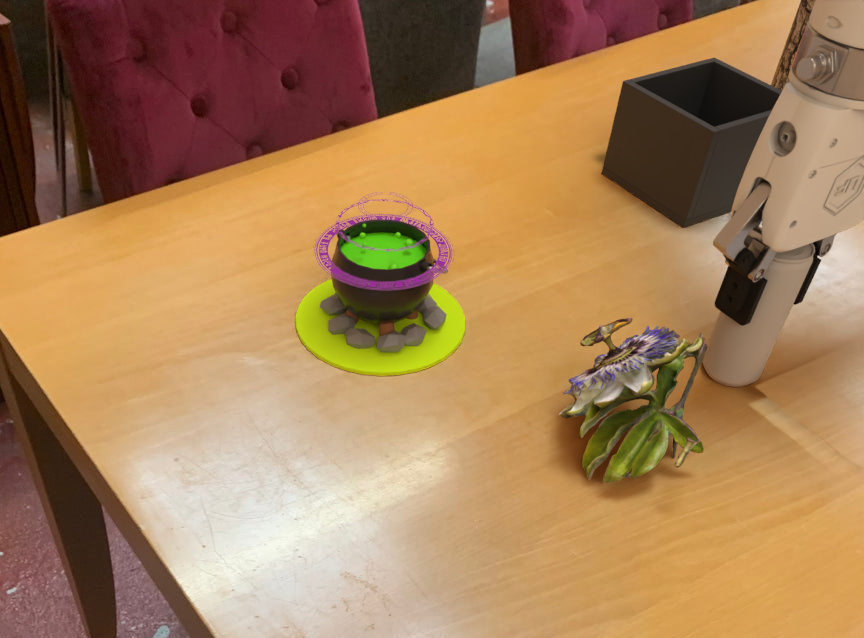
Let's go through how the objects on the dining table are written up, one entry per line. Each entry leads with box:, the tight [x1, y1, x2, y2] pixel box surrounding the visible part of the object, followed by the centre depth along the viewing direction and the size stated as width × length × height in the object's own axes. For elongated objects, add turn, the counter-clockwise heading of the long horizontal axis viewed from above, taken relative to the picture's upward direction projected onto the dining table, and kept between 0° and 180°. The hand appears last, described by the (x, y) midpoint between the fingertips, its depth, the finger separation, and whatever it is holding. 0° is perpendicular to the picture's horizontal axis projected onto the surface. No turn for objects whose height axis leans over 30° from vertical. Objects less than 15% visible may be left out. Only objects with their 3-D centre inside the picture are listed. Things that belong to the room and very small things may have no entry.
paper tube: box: [770, 0, 816, 91], centre depth 93 cm, size 7×7×25 cm
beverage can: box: [702, 239, 815, 388], centre depth 70 cm, size 5×5×12 cm
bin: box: [601, 57, 782, 228], centre depth 91 cm, size 13×13×10 cm
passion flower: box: [558, 316, 708, 485], centre depth 66 cm, size 11×11×12 cm
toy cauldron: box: [294, 191, 467, 377], centre depth 74 cm, size 15×15×11 cm
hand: (758, 303), depth 69 cm, fingers closed on beverage can, 4 cm apart
